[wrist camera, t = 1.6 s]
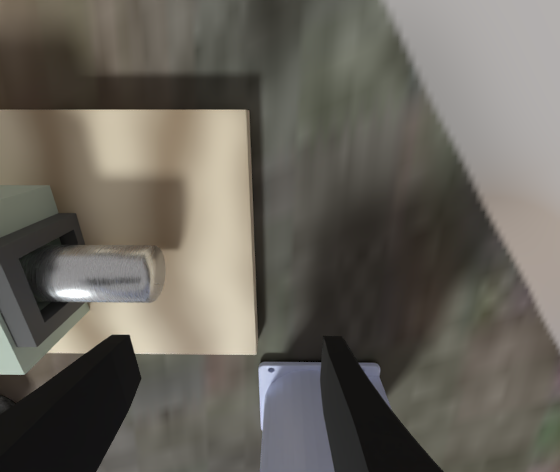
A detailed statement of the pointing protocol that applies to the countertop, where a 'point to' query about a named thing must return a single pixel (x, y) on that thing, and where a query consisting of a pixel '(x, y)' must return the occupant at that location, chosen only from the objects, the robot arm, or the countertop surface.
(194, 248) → the maple board
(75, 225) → the collar block
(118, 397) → the robot arm
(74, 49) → the countertop surface
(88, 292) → the steel peg
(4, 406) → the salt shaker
